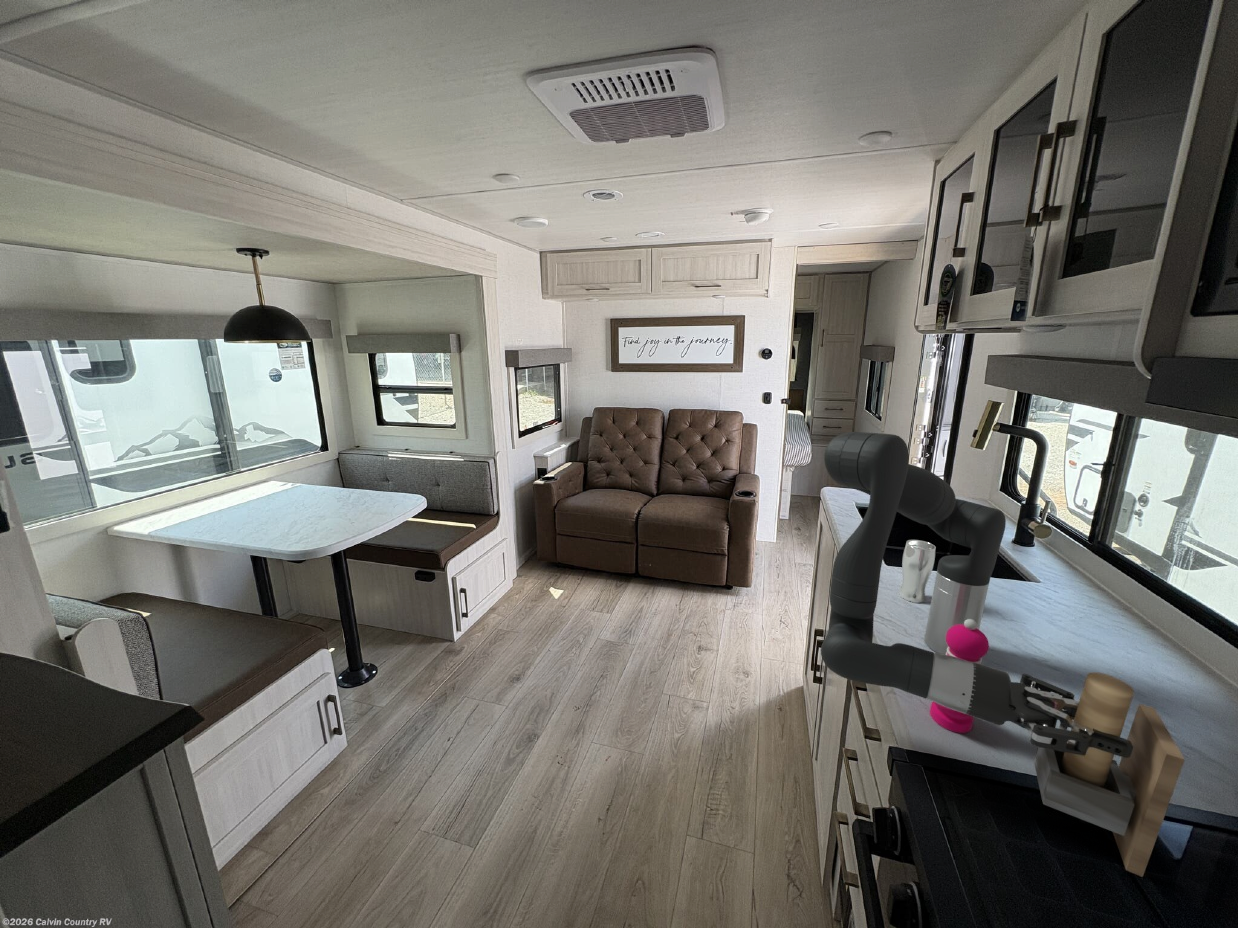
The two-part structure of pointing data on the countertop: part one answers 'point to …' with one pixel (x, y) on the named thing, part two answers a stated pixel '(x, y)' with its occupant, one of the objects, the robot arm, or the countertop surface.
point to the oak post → (1098, 725)
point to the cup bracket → (1121, 789)
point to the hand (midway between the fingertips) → (1124, 737)
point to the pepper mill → (969, 647)
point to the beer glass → (916, 569)
